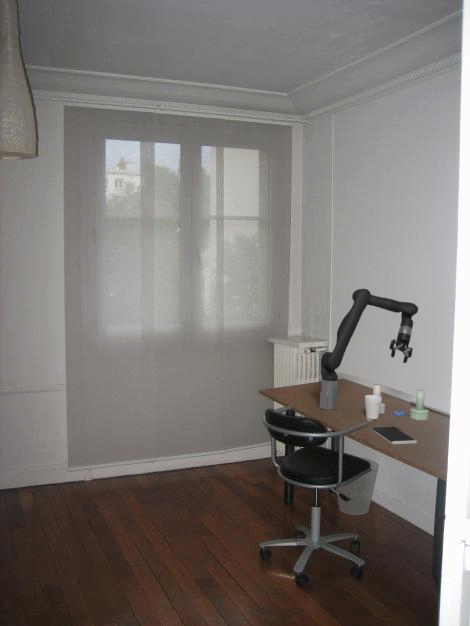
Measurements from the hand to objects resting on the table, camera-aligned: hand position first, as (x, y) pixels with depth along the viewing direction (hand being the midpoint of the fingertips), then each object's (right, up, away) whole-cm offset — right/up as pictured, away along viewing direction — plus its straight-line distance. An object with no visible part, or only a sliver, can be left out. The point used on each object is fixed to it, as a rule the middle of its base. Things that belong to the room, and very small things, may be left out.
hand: (398, 359), depth 378 cm
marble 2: (-3, -31, -10) cm, 32 cm away
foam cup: (-19, -32, -15) cm, 40 cm away
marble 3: (0, -30, -7) cm, 31 cm away
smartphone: (-14, -36, -44) cm, 59 cm away
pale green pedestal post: (+8, -33, -14) cm, 36 cm away
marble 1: (-3, -30, -6) cm, 31 cm away
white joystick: (-14, -31, -3) cm, 34 cm away
